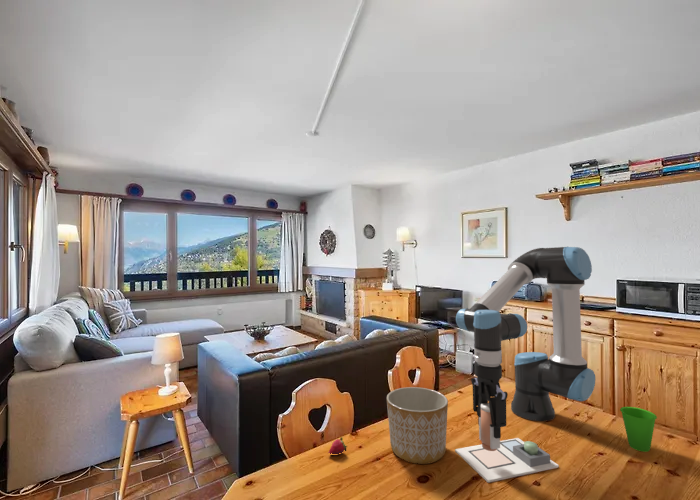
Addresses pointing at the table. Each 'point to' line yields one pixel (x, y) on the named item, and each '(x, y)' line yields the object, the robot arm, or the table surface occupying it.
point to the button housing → (531, 460)
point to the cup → (638, 427)
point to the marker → (485, 426)
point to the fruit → (337, 446)
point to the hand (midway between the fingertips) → (489, 443)
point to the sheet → (499, 461)
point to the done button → (530, 448)
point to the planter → (417, 424)
